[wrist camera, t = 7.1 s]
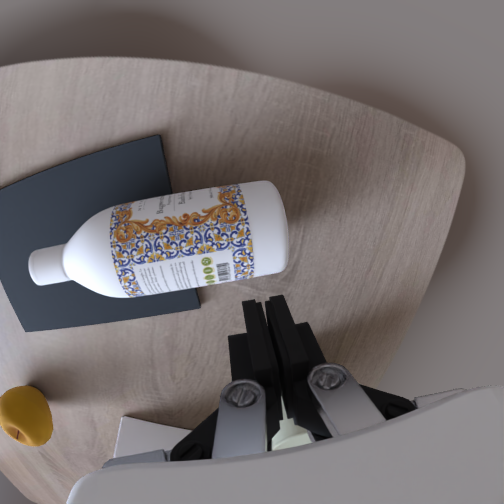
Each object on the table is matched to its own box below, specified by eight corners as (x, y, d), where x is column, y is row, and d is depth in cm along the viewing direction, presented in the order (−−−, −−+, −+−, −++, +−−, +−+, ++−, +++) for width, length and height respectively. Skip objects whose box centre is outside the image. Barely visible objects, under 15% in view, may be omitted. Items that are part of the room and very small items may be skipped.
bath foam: (291, 202, 18) (2, 256, 16) (291, 290, 22) (42, 328, 20) (264, 167, 24) (36, 212, 21) (268, 240, 28) (63, 276, 25)
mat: (160, 134, 23) (159, 134, 22) (200, 305, 29) (200, 308, 28) (-23, 201, 22) (-27, 202, 21) (27, 329, 28) (25, 332, 27)
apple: (27, 409, 33) (10, 450, 25) (1, 368, 30) (-24, 410, 22) (70, 416, 34) (56, 463, 26) (45, 374, 31) (21, 424, 22)
